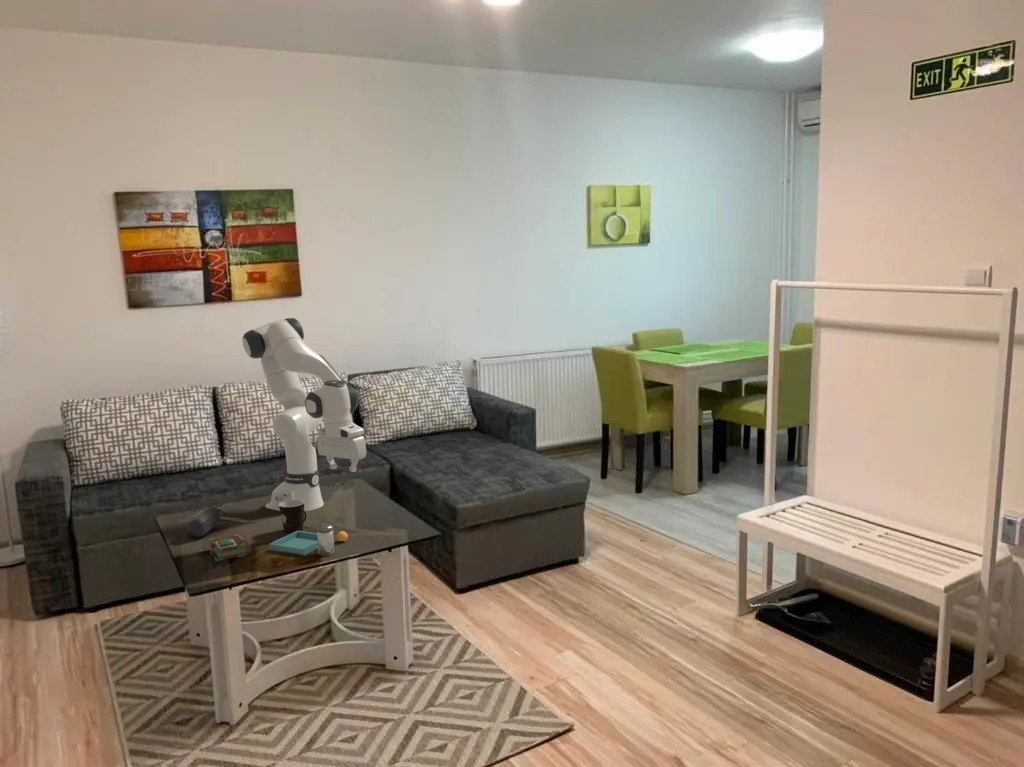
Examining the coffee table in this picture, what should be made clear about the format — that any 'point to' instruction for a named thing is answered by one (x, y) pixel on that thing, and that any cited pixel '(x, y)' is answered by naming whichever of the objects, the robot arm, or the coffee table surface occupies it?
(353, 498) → the coffee table surface
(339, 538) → the ball
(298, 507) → the coffee mug
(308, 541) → the tray
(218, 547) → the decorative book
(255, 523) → the coffee table surface
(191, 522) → the glasses case
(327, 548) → the cup
